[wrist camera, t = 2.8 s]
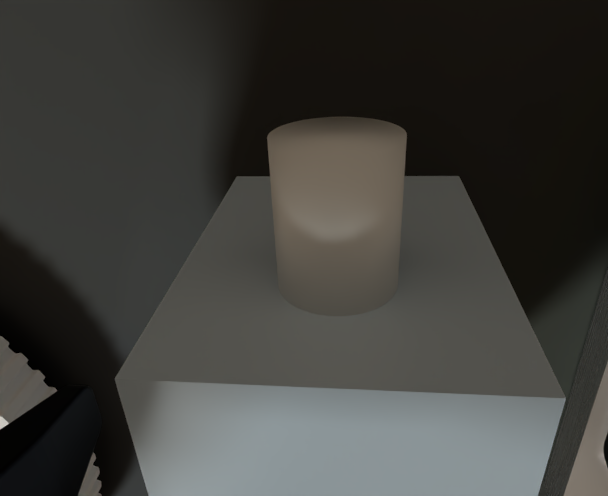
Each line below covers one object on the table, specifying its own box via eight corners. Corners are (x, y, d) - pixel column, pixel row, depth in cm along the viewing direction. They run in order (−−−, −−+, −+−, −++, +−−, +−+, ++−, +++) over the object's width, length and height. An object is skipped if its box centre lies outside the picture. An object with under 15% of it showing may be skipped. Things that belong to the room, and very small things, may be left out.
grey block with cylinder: (260, 388, 13) (195, 657, 8) (226, 75, 10) (63, 202, 4) (433, 395, 13) (482, 686, 8) (470, 70, 9) (621, 205, 4)
